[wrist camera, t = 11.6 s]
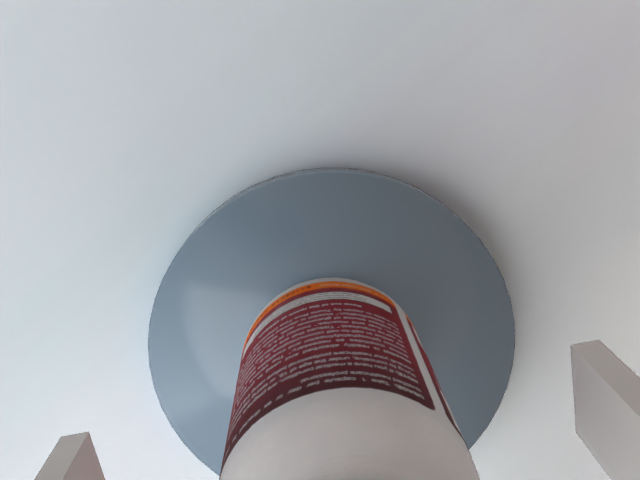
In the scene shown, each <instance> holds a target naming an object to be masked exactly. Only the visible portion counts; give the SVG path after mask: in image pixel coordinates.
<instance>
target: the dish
mask: <svg viewBox="0 0 640 480" xmlns="http://www.w3.org/2000/svg"><path fill="white" fill-rule="evenodd" d="M320 278H345V279H351V280H356V281H359V282H362V283H365V284H368V285H370V286H372V287H375V288H377V289H378V290H380V291H382V292H384V293H385V294H386V295H388V296H389V297H390V298H392V299H393V300H394V301H395V302H396V303H397V304H398V305H399V306H400V307H401V308H402V310H403V311H404V312H405V313H406V315H407V316H408V318H409V319H410V321H411V322H412V324H413V326H414V328H415V330H416V332H417V334H418V337H419V339H420V342H421V344H422V346H423V348H424V350H425V353H426V355H427V357H428V359H429V361H430V364H431V366H432V368H433V371H434V373H435V375H436V378H437V380H438V382H439V384H440V387H441V389H442V391H443V393H444V396H445V398H446V400H447V403H448V405H449V407H450V409H451V412H452V414H453V416H454V418H455V421H456V423H457V425H458V427H459V429H460V432H461V434H462V436H463V438H464V440H465V442H466V444H467V447H468V449H470V448H471V446H472V445H473V444H474V443H475V442H476V441H477V440H478V438H479V437H480V436H481V434H482V433H483V432H484V430H485V429H486V428H487V426H488V425H489V423H490V421H491V420H492V418H493V416H494V414H495V413H496V411H497V409H498V407H499V405H500V403H501V400H502V398H503V395H504V393H505V391H506V388H507V385H508V381H509V377H510V373H511V369H512V365H513V356H514V348H515V330H514V318H513V312H512V306H511V301H510V298H509V295H508V292H507V288H506V285H505V282H504V279H503V277H502V275H501V273H500V271H499V269H498V267H497V265H496V263H495V261H494V259H493V258H492V256H491V255H490V253H489V252H488V251H487V249H486V248H485V246H484V245H483V243H482V242H481V240H480V239H479V238H478V237H477V236H476V235H475V234H474V233H473V232H472V231H471V230H470V229H469V227H468V226H467V225H466V224H465V223H464V222H463V221H462V220H461V219H460V218H459V217H457V216H456V215H455V214H454V213H453V212H452V211H450V210H449V209H448V208H447V207H446V206H444V205H443V204H442V203H441V202H439V201H438V200H437V199H435V198H433V197H432V196H430V195H428V194H427V193H425V192H424V191H422V190H420V189H419V188H417V187H414V186H412V185H410V184H408V183H405V182H403V181H401V180H398V179H396V178H393V177H389V176H386V175H382V174H379V173H375V172H371V171H364V170H357V169H350V168H318V169H310V170H302V171H296V172H292V173H288V174H284V175H280V176H276V177H273V178H271V179H268V180H266V181H263V182H261V183H258V184H256V185H253V186H251V187H249V188H248V189H246V190H244V191H242V192H241V193H239V194H237V195H235V196H233V197H232V198H230V199H229V200H227V201H226V202H225V203H224V204H222V205H221V206H220V207H218V208H217V209H216V210H214V211H213V212H212V213H211V214H210V215H209V216H208V217H207V218H206V219H205V220H204V221H203V222H202V223H201V224H200V225H199V226H198V227H197V228H196V229H195V230H194V231H193V232H192V234H191V235H190V236H189V238H188V239H187V240H186V242H185V243H184V244H183V246H182V247H181V248H180V250H179V251H178V253H177V254H176V256H175V257H174V259H173V261H172V263H171V265H170V266H169V268H168V270H167V272H166V273H165V275H164V277H163V279H162V282H161V285H160V287H159V290H158V292H157V295H156V297H155V301H154V305H153V309H152V314H151V318H150V325H149V338H148V351H149V366H150V370H151V375H152V380H153V384H154V388H155V391H156V394H157V396H158V399H159V402H160V405H161V407H162V409H163V411H164V413H165V415H166V417H167V419H168V420H169V422H170V424H171V426H172V428H173V429H174V430H175V432H176V433H177V434H178V436H179V437H180V439H181V440H182V441H183V443H184V444H185V445H186V446H187V447H188V448H189V449H190V450H191V452H192V453H193V454H194V455H195V456H196V457H197V458H198V459H199V460H200V461H201V462H203V463H204V464H205V465H206V466H207V467H209V468H210V469H211V470H212V471H214V472H215V473H216V474H218V475H219V476H220V472H221V466H222V461H223V456H224V451H225V445H226V439H227V434H228V429H229V423H230V418H231V412H232V407H233V401H234V396H235V390H236V384H237V379H238V374H239V369H240V363H241V357H242V352H243V348H244V344H245V341H246V338H247V334H248V332H249V330H250V327H251V326H252V324H253V322H254V320H255V319H256V317H257V316H258V314H259V313H260V312H261V310H262V309H263V308H264V307H265V306H266V305H267V304H268V303H269V302H270V301H271V300H272V299H273V298H275V297H276V296H277V295H279V294H280V293H282V292H283V291H285V290H287V289H288V288H290V287H292V286H294V285H297V284H299V283H302V282H305V281H309V280H314V279H320Z"/></svg>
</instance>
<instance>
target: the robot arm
mask: <svg viewBox="0 0 640 480" xmlns="http://www.w3.org/2000/svg"><path fill="white" fill-rule="evenodd" d="M571 361H572V377H573V393H574V409H575V425H576V433H577V435H578V436H579V437H580V439H581V440H582V441H583V443H584V444H585V445H586V447H587V448H588V449H589V451H590V452H591V453H592V455H593V456H594V457H595V459H596V460H597V461H598V463H599V464H600V465H601V467H602V468H603V469H604V471H605V472H606V473H607V475H608V476H609V477H610V479H611V480H640V378H639V377H638V376H637V375H636V374H635V373H634V372H633V371H632V370H631V369H630V368H629V367H628V366H627V365H626V364H624V363H623V362H622V361H621V360H620V359H619V358H618V357H617V356H616V355H615V354H614V353H613V352H612V351H610V350H609V349H608V348H607V347H606V346H605V345H604V344H603V343H602V342H601V341H600V340H595V341H590V342H584V343H579V344H573V345H571ZM34 480H105V478H104V475H103V472H102V469H101V466H100V463H99V460H98V457H97V454H96V452H95V449H94V446H93V443H92V440H91V437H90V434H89V432H85V433H79V434H74V435H68V436H63V437H61V438H60V439H59V441H58V442H57V444H56V446H55V447H54V449H53V450H52V452H51V454H50V455H49V457H48V459H47V460H46V462H45V463H44V465H43V467H42V468H41V470H40V471H39V473H38V475H37V476H36V478H35V479H34Z"/></svg>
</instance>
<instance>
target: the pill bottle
mask: <svg viewBox="0 0 640 480" xmlns="http://www.w3.org/2000/svg"><path fill="white" fill-rule="evenodd" d="M219 480H480V479H479V475H478V472H477V470H476V467H475V465H474V462H473V460H472V457H471V455H470V452H469V449H468V447H467V444H466V442H465V440H464V438H463V436H462V434H461V432H460V429H459V427H458V425H457V423H456V421H455V418H454V416H453V414H452V412H451V409H450V407H449V405H448V403H447V400H446V398H445V396H444V393H443V391H442V389H441V387H440V384H439V382H438V380H437V378H436V375H435V373H434V371H433V368H432V366H431V364H430V361H429V359H428V357H427V355H426V353H425V350H424V348H423V346H422V344H421V342H420V339H419V337H418V334H417V332H416V330H415V328H414V326H413V324H412V322H411V321H410V319H409V318H408V316H407V315H406V313H405V312H404V311H403V310H402V308H401V307H400V306H399V305H398V304H397V303H396V302H395V301H394V300H393V299H392V298H390V297H389V296H388V295H386V294H385V293H384V292H382V291H380V290H378V289H377V288H375V287H372V286H370V285H368V284H365V283H362V282H359V281H356V280H351V279H345V278H320V279H314V280H309V281H305V282H302V283H299V284H297V285H294V286H292V287H290V288H288V289H287V290H285V291H283V292H282V293H280V294H279V295H277V296H276V297H275V298H273V299H272V300H271V301H270V302H269V303H268V304H267V305H266V306H265V307H264V308H263V309H262V310H261V312H260V313H259V314H258V316H257V317H256V319H255V320H254V322H253V324H252V326H251V327H250V330H249V332H248V334H247V338H246V341H245V344H244V348H243V352H242V357H241V363H240V369H239V374H238V379H237V384H236V390H235V396H234V401H233V407H232V412H231V418H230V423H229V429H228V434H227V439H226V445H225V451H224V456H223V461H222V466H221V472H220V478H219Z"/></svg>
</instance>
